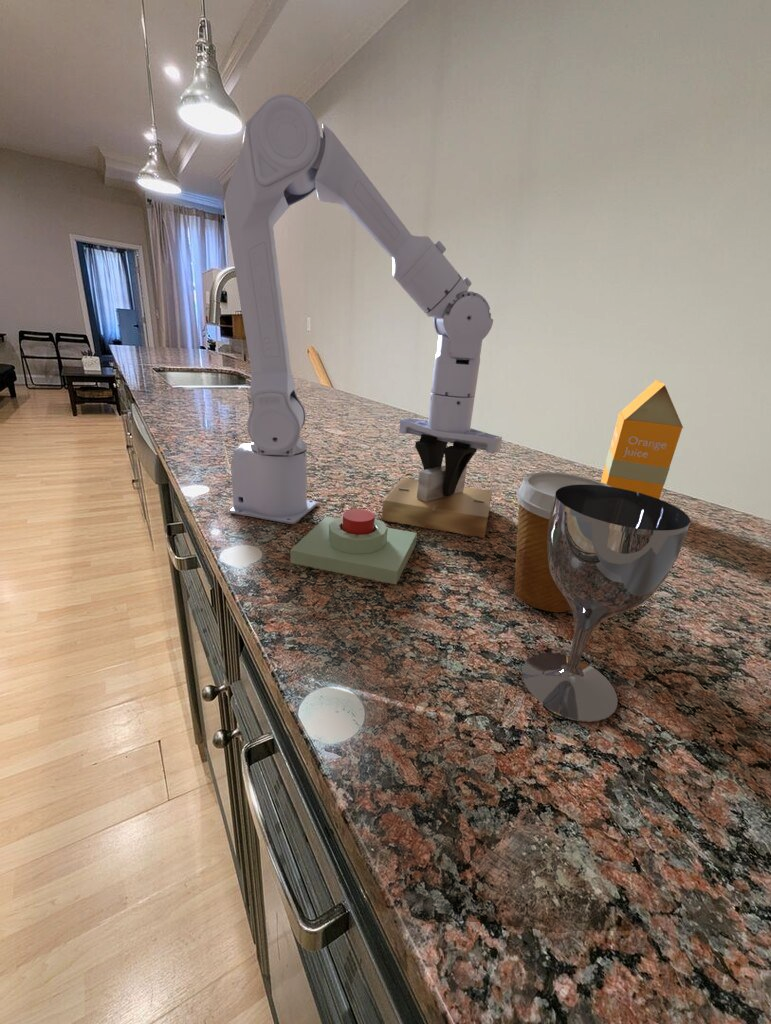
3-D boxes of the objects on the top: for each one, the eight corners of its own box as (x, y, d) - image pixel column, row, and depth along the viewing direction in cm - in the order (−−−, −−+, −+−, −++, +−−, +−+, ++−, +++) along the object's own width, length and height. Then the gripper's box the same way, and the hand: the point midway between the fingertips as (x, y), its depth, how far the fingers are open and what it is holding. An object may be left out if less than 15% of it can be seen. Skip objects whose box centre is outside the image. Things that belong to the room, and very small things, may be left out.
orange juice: (597, 511, 70) (633, 380, 63) (596, 495, 78) (627, 376, 70) (653, 522, 68) (697, 387, 60) (645, 503, 75) (684, 382, 68)
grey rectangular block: (425, 502, 60) (428, 472, 59) (416, 498, 62) (419, 468, 60) (463, 492, 66) (467, 464, 64) (454, 488, 67) (457, 461, 65)
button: (337, 532, 50) (338, 518, 49) (348, 520, 53) (349, 507, 52) (368, 538, 49) (369, 523, 48) (377, 525, 52) (378, 512, 51)
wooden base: (380, 522, 61) (381, 500, 60) (401, 494, 72) (402, 475, 71) (483, 540, 58) (487, 517, 57) (489, 507, 69) (492, 488, 68)
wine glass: (501, 650, 38) (536, 482, 32) (590, 650, 39) (639, 486, 33) (538, 728, 30) (592, 528, 25) (647, 725, 31) (723, 532, 26)
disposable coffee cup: (604, 630, 41) (641, 511, 37) (499, 612, 43) (522, 496, 38) (583, 579, 50) (611, 477, 45) (496, 566, 52) (515, 466, 47)
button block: (290, 563, 49) (289, 534, 47) (325, 528, 58) (326, 503, 56) (396, 585, 46) (398, 555, 45) (415, 545, 55) (418, 519, 54)
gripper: (517, 399, 57) (499, 498, 63) (421, 385, 65) (413, 474, 70) (495, 404, 52) (477, 511, 57) (394, 388, 60) (386, 484, 65)
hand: (440, 491), depth 63 cm, fingers closed on grey rectangular block, 2 cm apart
